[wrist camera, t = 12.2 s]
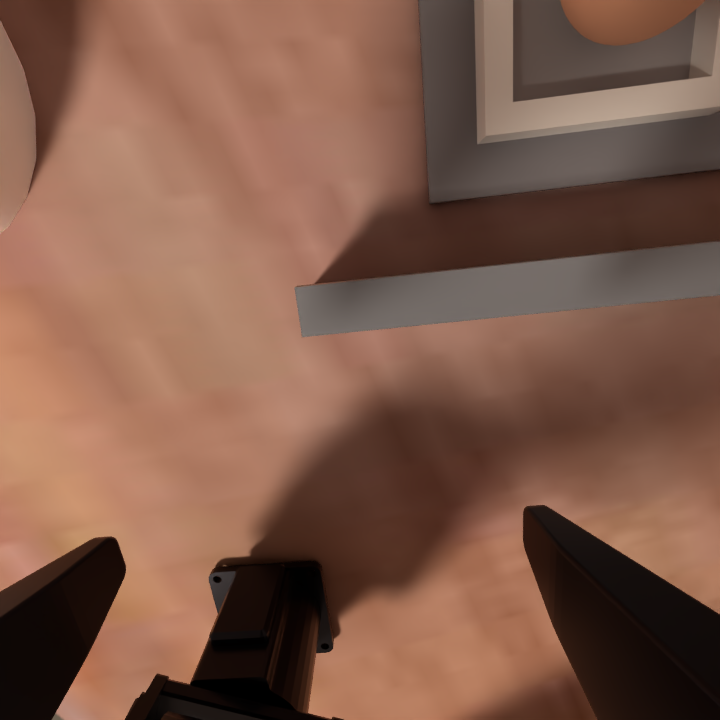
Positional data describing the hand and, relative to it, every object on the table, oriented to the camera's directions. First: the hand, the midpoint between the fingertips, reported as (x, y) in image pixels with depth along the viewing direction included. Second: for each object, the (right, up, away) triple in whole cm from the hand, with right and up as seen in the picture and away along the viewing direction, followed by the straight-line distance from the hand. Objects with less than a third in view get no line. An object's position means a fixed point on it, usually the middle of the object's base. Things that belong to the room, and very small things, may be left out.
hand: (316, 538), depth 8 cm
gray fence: (+11, +8, +9) cm, 16 cm away
